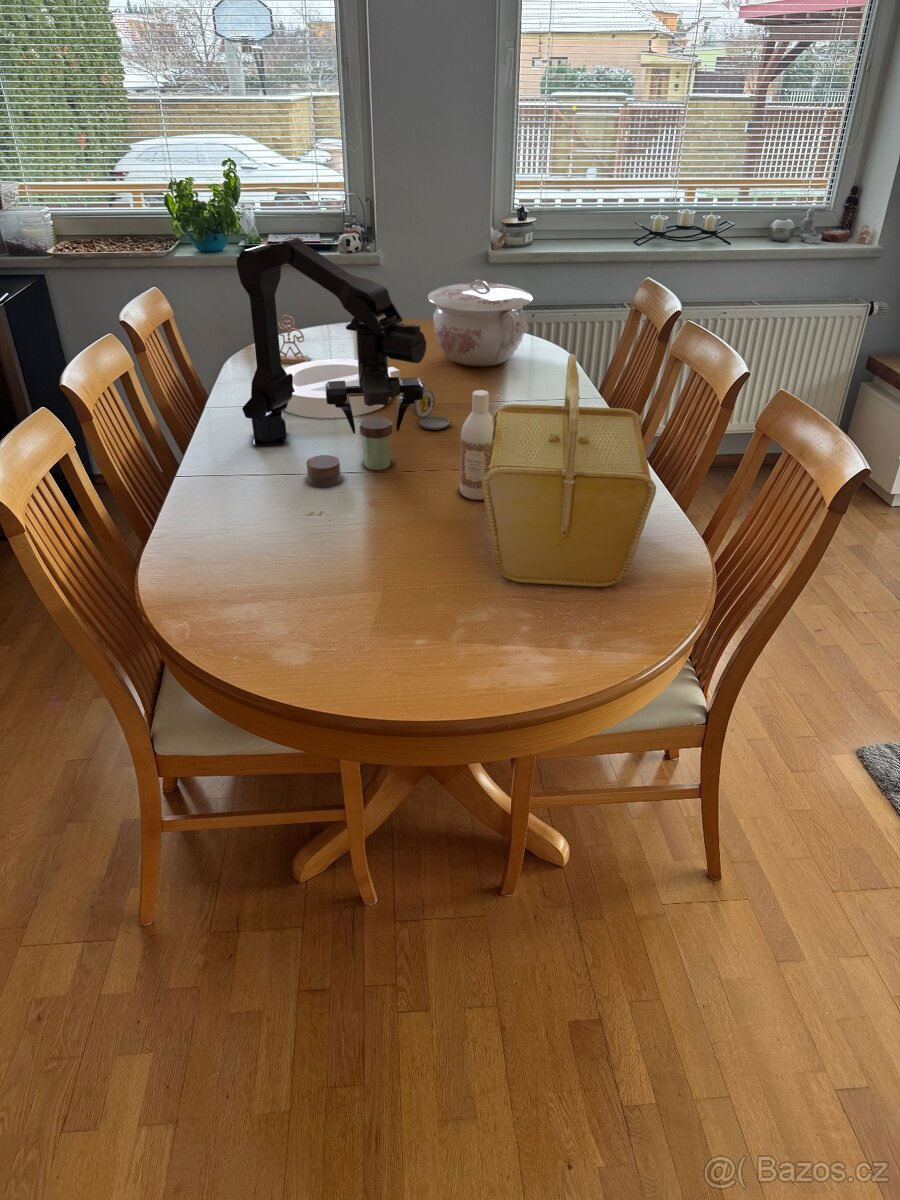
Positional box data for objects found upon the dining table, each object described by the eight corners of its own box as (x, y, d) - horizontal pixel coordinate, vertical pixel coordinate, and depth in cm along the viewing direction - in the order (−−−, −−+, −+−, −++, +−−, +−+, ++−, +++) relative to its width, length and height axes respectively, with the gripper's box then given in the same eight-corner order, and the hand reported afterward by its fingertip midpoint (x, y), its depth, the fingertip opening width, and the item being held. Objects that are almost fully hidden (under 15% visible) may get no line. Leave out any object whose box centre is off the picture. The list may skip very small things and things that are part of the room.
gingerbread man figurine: (309, 359, 237) (305, 314, 230) (305, 363, 234) (302, 318, 227) (276, 358, 238) (272, 313, 231) (273, 362, 234) (268, 317, 228)
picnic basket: (490, 505, 165) (495, 346, 148) (629, 512, 162) (650, 351, 146) (478, 588, 140) (483, 408, 124) (642, 597, 138) (668, 416, 122)
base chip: (308, 488, 170) (307, 479, 169) (307, 474, 176) (307, 465, 175) (341, 486, 171) (341, 477, 170) (339, 472, 177) (339, 463, 175)
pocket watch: (446, 432, 194) (446, 388, 189) (409, 429, 196) (408, 385, 190) (453, 419, 201) (453, 376, 196) (417, 416, 202) (416, 373, 197)
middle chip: (307, 479, 169) (306, 469, 168) (307, 465, 175) (306, 456, 174) (341, 477, 170) (340, 467, 169) (339, 463, 175) (338, 454, 174)
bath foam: (455, 498, 167) (456, 396, 156) (465, 483, 173) (467, 384, 162) (490, 503, 165) (494, 401, 155) (500, 487, 171) (504, 388, 160)
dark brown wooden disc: (361, 439, 173) (360, 429, 172) (358, 427, 178) (358, 417, 177) (393, 437, 174) (393, 428, 173) (390, 425, 179) (390, 416, 178)
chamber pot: (436, 341, 250) (435, 265, 239) (532, 346, 247) (536, 269, 236) (419, 373, 227) (418, 291, 216) (525, 379, 224) (530, 296, 213)
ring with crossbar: (402, 381, 222) (402, 362, 220) (375, 421, 199) (374, 401, 197) (296, 374, 226) (295, 356, 224) (258, 413, 203) (255, 393, 201)
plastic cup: (365, 470, 177) (363, 438, 174) (363, 459, 182) (361, 428, 178) (391, 469, 178) (390, 436, 174) (389, 458, 183) (387, 426, 179)
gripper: (325, 370, 160) (330, 450, 168) (426, 366, 162) (427, 445, 171) (322, 352, 169) (328, 428, 177) (418, 347, 171) (420, 423, 180)
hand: (375, 431), depth 176 cm, fingers open, 8 cm apart
